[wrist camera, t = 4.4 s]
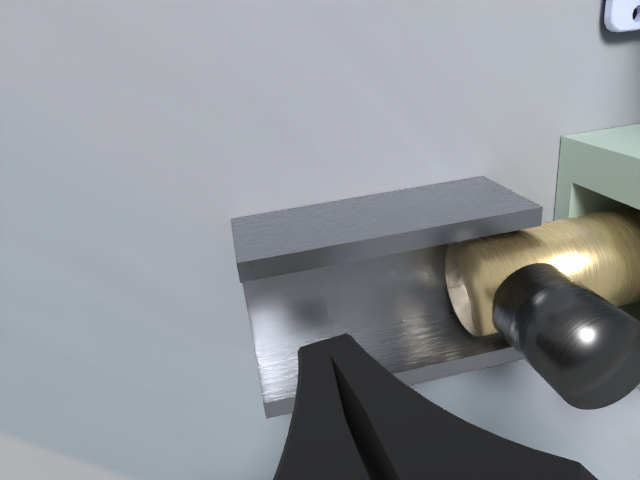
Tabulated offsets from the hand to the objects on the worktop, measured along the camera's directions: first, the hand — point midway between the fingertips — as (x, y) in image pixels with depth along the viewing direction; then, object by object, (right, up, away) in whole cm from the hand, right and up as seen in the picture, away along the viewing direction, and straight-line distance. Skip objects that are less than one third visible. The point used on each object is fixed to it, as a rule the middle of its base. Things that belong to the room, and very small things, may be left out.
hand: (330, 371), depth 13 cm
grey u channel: (+1, +2, +5) cm, 6 cm away
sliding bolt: (+9, +3, +6) cm, 11 cm away
